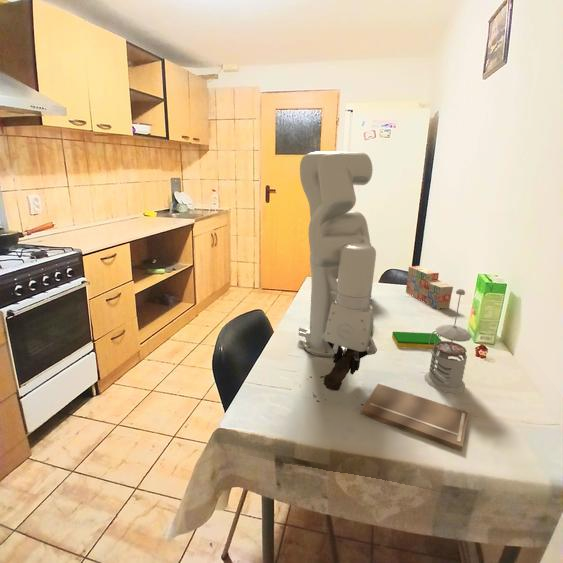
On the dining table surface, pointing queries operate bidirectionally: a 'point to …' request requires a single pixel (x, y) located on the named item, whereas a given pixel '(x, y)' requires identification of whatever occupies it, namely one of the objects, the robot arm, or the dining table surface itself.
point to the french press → (447, 369)
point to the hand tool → (339, 371)
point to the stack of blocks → (428, 287)
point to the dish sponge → (415, 340)
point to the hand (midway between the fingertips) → (345, 368)
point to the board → (417, 416)
